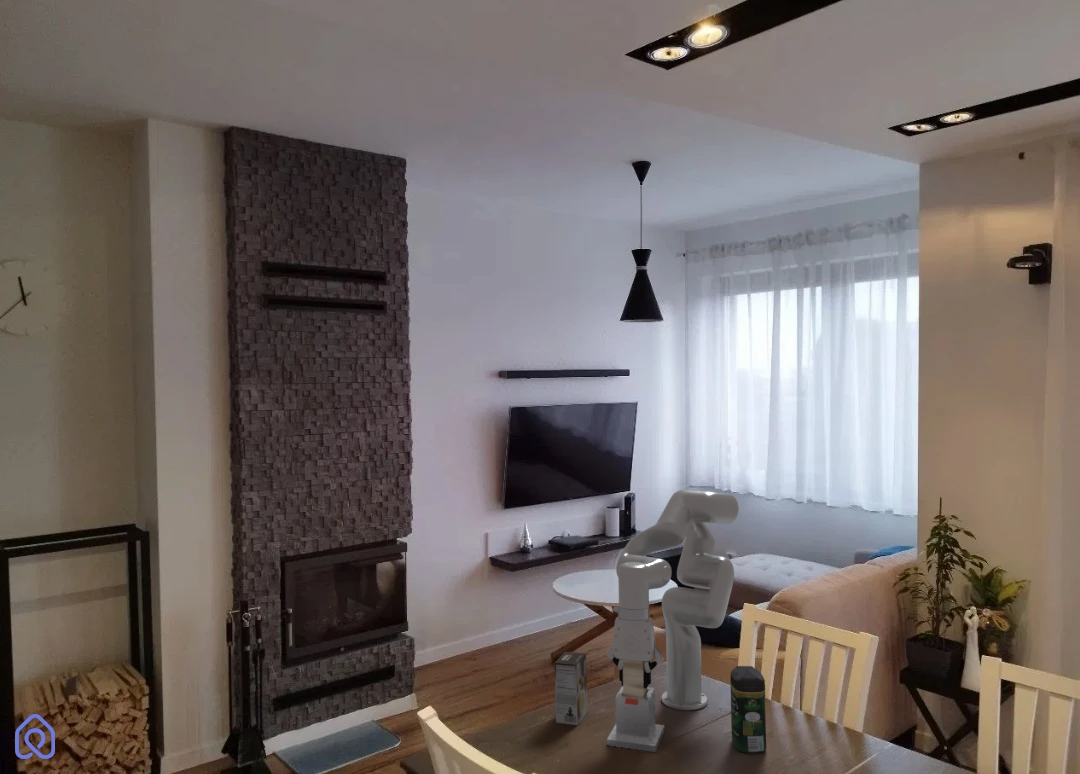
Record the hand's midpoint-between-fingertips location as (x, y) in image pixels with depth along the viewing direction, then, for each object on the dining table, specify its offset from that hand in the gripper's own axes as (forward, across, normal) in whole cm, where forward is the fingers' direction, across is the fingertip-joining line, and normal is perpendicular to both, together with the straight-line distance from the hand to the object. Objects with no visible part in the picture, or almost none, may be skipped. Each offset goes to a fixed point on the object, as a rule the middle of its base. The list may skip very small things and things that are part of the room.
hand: (635, 684), depth 195 cm
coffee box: (+14, -19, +7) cm, 24 cm away
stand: (+13, 0, 0) cm, 13 cm away
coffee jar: (+14, +27, +4) cm, 31 cm away
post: (+12, 0, 0) cm, 12 cm away
